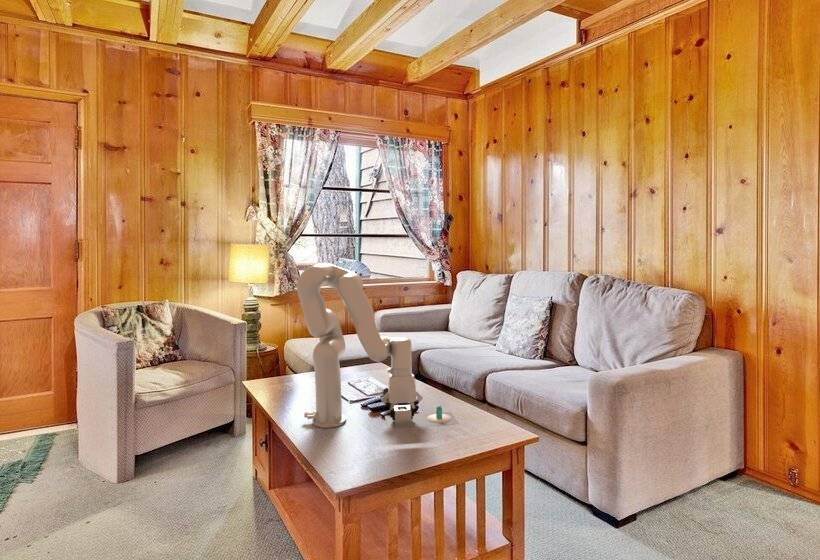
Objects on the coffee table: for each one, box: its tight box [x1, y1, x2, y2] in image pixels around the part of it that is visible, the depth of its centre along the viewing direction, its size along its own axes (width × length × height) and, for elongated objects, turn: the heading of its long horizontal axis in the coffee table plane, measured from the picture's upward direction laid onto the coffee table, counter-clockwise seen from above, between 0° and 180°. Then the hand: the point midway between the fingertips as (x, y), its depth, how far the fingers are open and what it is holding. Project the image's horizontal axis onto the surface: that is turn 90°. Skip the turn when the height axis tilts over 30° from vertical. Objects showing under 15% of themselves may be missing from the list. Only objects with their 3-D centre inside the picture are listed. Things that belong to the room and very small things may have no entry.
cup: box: [382, 387, 400, 406], centre depth 206 cm, size 8×7×8 cm
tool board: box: [384, 405, 460, 430], centre depth 190 cm, size 26×13×6 cm, turn 98°
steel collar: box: [394, 404, 412, 425], centre depth 189 cm, size 6×6×5 cm
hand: (402, 418), depth 190 cm, fingers open, 6 cm apart
